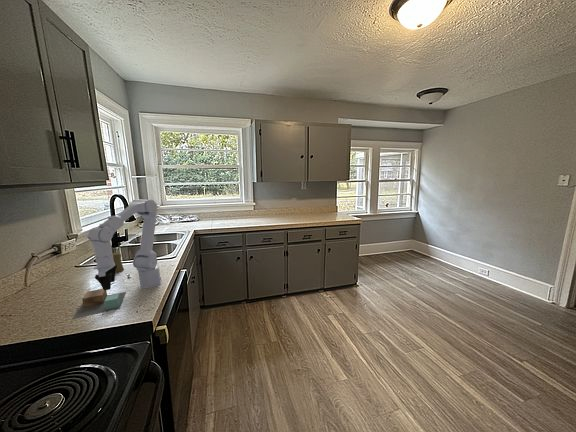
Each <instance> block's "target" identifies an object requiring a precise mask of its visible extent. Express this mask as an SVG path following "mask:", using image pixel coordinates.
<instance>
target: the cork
mask: <svg viewBox="0 0 576 432" xmlns="http://www.w3.org/2000/svg"><path fill="white" fill-rule="evenodd" d="M112 254H113V260H114V263H115V264H117V268H116V272H115V274H119V272H120V273H122V272H125V271H124V270H125V268H124V266H123V263H122V259H121V258H122V254H121V253H120V252H114V253H113V252H112Z"/></svg>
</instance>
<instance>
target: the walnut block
mask: <svg viewBox="0 0 576 432" xmlns="http://www.w3.org/2000/svg"><path fill="white" fill-rule="evenodd" d="M107 291H108V290H103V288H100V289H94V290H88V291H86V292H85V294H84V295H83V297H82V298H81V300H82V301H81V302H82V304H83V306H84V307H87V306H92V305H97V304H102V303H104V301H105V299H106V297H107V295H108V292H107Z"/></svg>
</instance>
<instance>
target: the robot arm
mask: <svg viewBox="0 0 576 432" xmlns="http://www.w3.org/2000/svg"><path fill="white" fill-rule="evenodd" d="M157 211H158V205H157V203H156V201H155V200H153V199H137V198H136V199H133V200H132V201H130V202H129V205H128V206H126V207H125V208H124V209H123V210H122V211H121V212H120V213H118V215H112V216H108V217H107V220H105V221H103V223H100V224H99V225H98V227H92V228H91V229H89V231H88V235H87V239H88V240H89V241H91V245H92V247H93V252H94V256H95V262H96V266H94V267H93V270H97V273H98V274H95V276H94V278H95V280H96V281H98V282H99V284H100V286H101V289H103V290H106V291H108V290H111V289H112V286H111V285H112V283H114V282H115V280H116V273H115V272H116V268H117V264H115V263H114V260H113V249H112V243H111V240H112V238H113V237H114V235H115V233H116V232H117V231H119V230H120V229H121V228H122V227H124V223H125V221H127V220H128V219H129V218H130V217H132V216H134V215H135V214H137V215H139V216H141V217H142V219H143V223H142V224H143V225H142V230H141V239H140V248H139V249H138V251H137V252H135V254H134V258H133V259H132V265H133V267H134V268H136V270H137V272H138V273H137V274H138V280H139V286H138V290H142V289H147V288H152V287H159V286H161V281H162V276H161V272H160V267H159V266H158V258H157V257H158V256H157V253H156V252H155V251H154V250H153V247H154V241H155V240H154V238H155V231H156V222H157Z"/></svg>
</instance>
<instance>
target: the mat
mask: <svg viewBox="0 0 576 432" xmlns="http://www.w3.org/2000/svg"><path fill="white" fill-rule="evenodd" d="M116 294H119V295H120V301H121V302H120V305H119V307H117V308H112V309H108V310H106V308H105V302H104V303H102V304H97V305H92V306H87V307H84V306H83V303H82V304H81V305H80V307H79V308H78V310H77V311H76V312H75V314H74V315H73V317H72V318H71V319H72V320H75V319H80V318H85V317H88V316H89V317H90V316H93V315H97V314H102V313H107V312H111V311H117V310H120V309H121V307H122V304H123V302H124V299H125V296H126V294H127V291H123V292H119V293H114V294H113V293H112V294H107V296H111V295H116Z"/></svg>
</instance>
